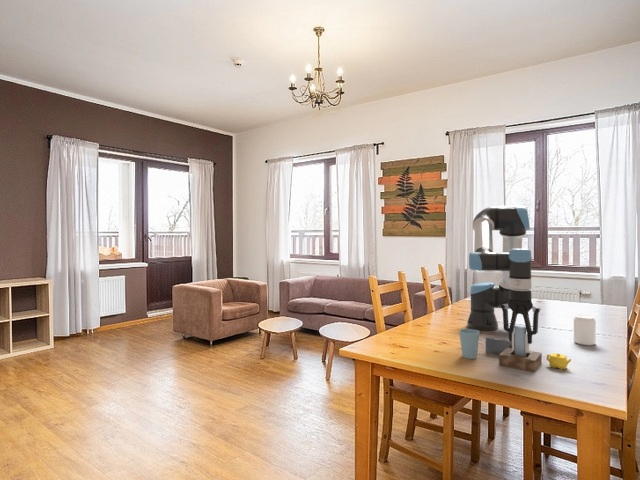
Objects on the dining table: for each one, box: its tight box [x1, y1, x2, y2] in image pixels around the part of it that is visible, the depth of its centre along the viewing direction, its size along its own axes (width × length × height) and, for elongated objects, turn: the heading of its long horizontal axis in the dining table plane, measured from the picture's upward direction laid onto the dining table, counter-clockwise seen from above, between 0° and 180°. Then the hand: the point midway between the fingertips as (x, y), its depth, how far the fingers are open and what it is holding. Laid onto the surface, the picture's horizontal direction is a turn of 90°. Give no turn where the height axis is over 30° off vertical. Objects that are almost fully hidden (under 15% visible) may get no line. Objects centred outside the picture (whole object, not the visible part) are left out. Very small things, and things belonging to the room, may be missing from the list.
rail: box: [485, 337, 512, 355], centre depth 160 cm, size 14×1×6 cm, turn 50°
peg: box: [513, 325, 527, 357], centre depth 149 cm, size 4×4×14 cm
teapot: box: [546, 353, 572, 371], centre depth 145 cm, size 8×6×5 cm
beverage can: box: [573, 314, 597, 346], centre depth 175 cm, size 8×8×12 cm
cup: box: [459, 328, 481, 360], centre depth 159 cm, size 8×8×10 cm
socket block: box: [498, 347, 543, 373], centre depth 149 cm, size 12×12×4 cm
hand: (520, 350), depth 149 cm, fingers closed on peg, 4 cm apart
